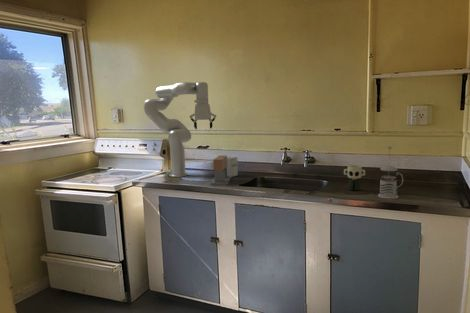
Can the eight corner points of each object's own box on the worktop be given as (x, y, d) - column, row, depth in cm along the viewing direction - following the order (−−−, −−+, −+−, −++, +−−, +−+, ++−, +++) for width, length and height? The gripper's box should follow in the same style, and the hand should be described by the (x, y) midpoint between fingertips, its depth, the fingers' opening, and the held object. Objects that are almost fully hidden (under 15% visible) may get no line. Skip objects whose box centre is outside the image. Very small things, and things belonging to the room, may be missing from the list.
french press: (380, 193, 195) (381, 144, 192) (404, 195, 189) (406, 145, 186) (375, 197, 187) (376, 146, 184) (400, 199, 181) (402, 147, 178)
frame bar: (213, 171, 226) (213, 159, 225) (219, 166, 244) (219, 155, 243) (221, 171, 226) (221, 159, 225) (227, 166, 243) (226, 155, 242)
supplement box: (231, 177, 249) (230, 158, 247) (222, 176, 254) (222, 157, 252) (238, 175, 255) (237, 156, 253) (229, 174, 259) (228, 156, 258)
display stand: (210, 185, 225) (210, 171, 224) (215, 178, 247) (215, 166, 246) (227, 185, 224) (227, 171, 223) (230, 178, 246) (230, 165, 245)
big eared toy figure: (342, 190, 203) (343, 166, 201) (344, 187, 209) (344, 164, 208) (364, 191, 199) (365, 167, 197) (365, 189, 205) (365, 165, 204)
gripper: (187, 102, 239) (189, 129, 241) (215, 101, 238) (215, 128, 240) (190, 102, 246) (191, 128, 249) (216, 101, 245) (217, 128, 247)
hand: (203, 128), depth 244 cm, fingers open, 9 cm apart
